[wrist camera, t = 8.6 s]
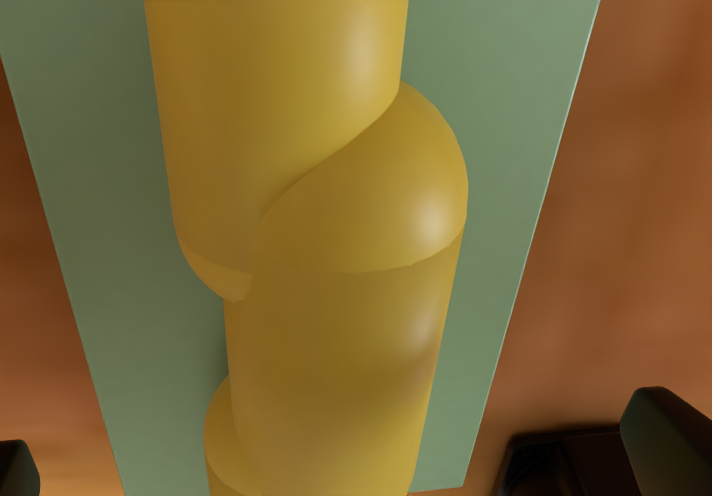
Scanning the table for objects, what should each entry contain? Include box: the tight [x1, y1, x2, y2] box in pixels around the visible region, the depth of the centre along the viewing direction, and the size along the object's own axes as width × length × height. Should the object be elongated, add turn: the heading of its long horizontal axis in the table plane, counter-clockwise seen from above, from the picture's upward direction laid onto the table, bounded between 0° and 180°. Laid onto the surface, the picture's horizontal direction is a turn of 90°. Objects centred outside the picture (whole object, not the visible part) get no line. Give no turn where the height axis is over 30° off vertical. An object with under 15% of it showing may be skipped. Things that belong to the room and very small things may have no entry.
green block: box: [0, 0, 600, 496], centre depth 14 cm, size 16×9×5 cm, turn 176°
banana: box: [144, 0, 468, 496], centre depth 11 cm, size 19×4×4 cm, turn 176°
